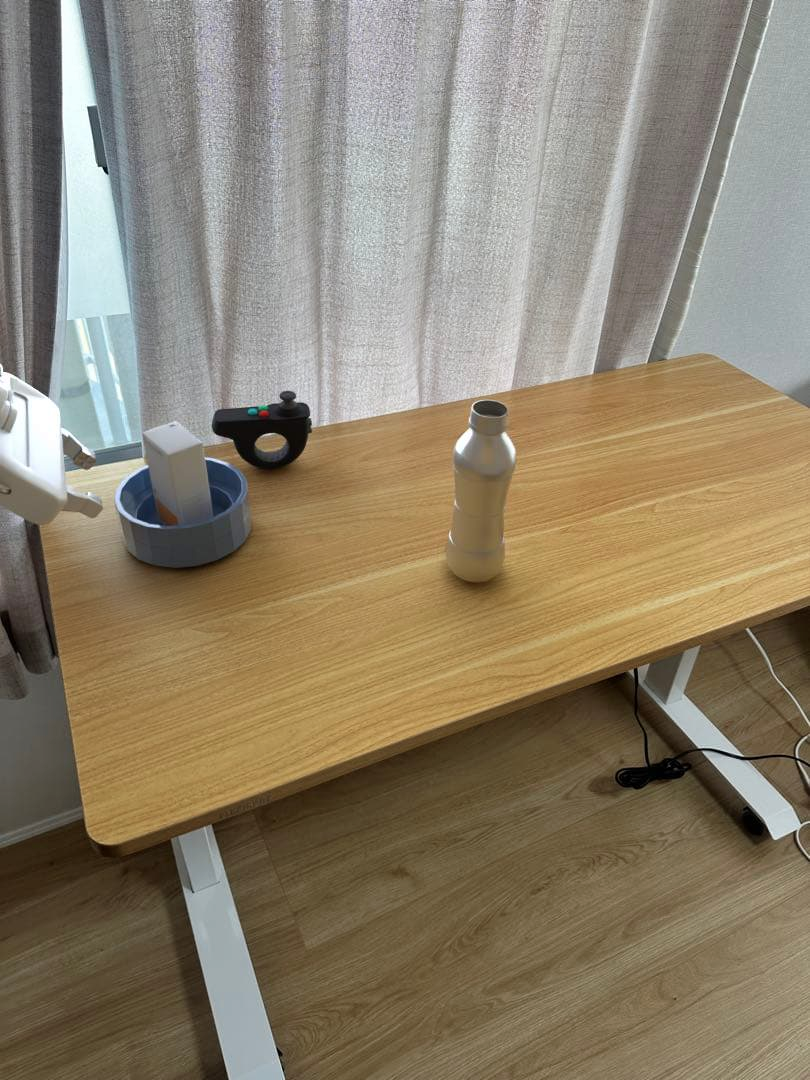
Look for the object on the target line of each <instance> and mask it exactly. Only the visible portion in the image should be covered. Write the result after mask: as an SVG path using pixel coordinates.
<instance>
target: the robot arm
mask: <svg viewBox="0 0 810 1080" xmlns="http://www.w3.org/2000/svg"><path fill="white" fill-rule="evenodd" d="M64 455H65V456H66V457H67V458H69V459H71V460H72V464H73V465H75V466H77V467H79V468H81V469H82V470H84V471H88V470H91V468H92V467H93V466H94V465H95V463H96V462H97V460H96V452H95V451H93V450H92V449H90V448H88V447H86V446H85V445H83V444H82V443H81V442H80V441H79V440H78V439H77V438H76V437H75V435H73V434H72V433H71V432H70V431H68V430H67V429H65V428H63V426H62V420H61V411H60V408H59V407H58V405H56V404H55V403H54V402H53V401H52V400H51V399H50V397H47V396H46V395H45V394H44V393H41V392H40V391H39V390H37V389H35V388H34V387H32V386H31V385H30V384H29V383H27V382H25V381H23V380H21V379H20V378H18V377H17V376H15V375H13V374H11V373H9V372H5V371H4V367H3V365H2V364H1V363H0V507H2V508H3V509H6V510H8V511H9V512H11V513H13V514H14V515H16V516H18V517H20V518H22V519H23V520H26V521H28V522H30V523H32V524H34V525H37V526H49V525H50V524H51V523H52V522H54V520H55V518H56V517H58V516H59V514H60V512H67V513H80V514H81V515H83V516H85V517H87V518H89V519H95V518H97V517H98V516H99V515H100V513H101V512H102V511H103V509H104V507H103V500H102V498H101V497H100V496H97V495H95V494H93V493H92V492H90V491H87V492H86V493H81V492H77V491H75V489H74V487H72V486H71V485H68V484H67V477H66V466H65V456H64Z"/></svg>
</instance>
